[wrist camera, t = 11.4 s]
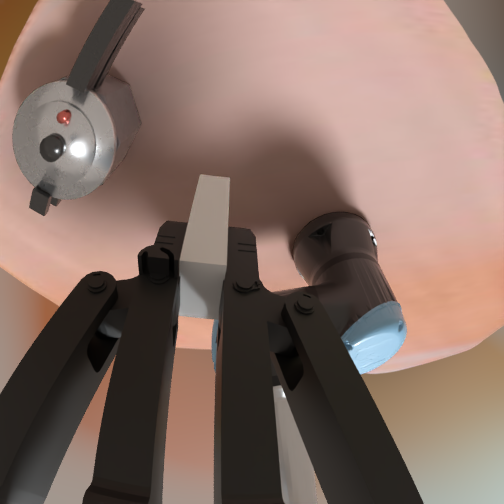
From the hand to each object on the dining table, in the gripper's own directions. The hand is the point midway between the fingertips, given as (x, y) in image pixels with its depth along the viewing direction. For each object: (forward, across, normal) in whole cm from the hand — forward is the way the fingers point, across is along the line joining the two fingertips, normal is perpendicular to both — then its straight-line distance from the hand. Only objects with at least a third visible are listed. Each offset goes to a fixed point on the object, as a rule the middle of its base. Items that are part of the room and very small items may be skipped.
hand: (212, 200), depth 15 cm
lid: (+19, -18, 0) cm, 26 cm away
